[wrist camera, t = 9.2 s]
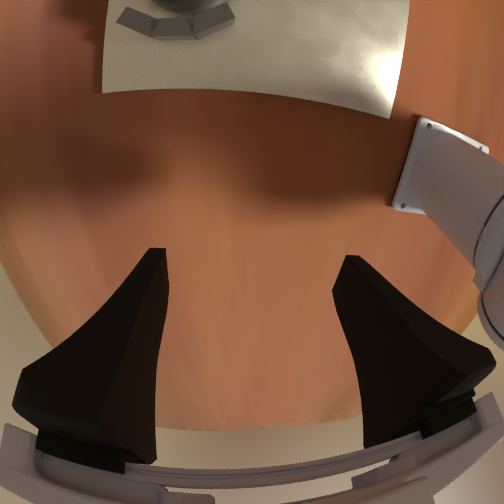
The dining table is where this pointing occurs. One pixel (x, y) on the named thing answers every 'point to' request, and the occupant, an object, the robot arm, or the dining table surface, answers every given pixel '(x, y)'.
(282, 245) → the dining table surface
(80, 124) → the dining table surface
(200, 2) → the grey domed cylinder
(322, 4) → the beige plate
